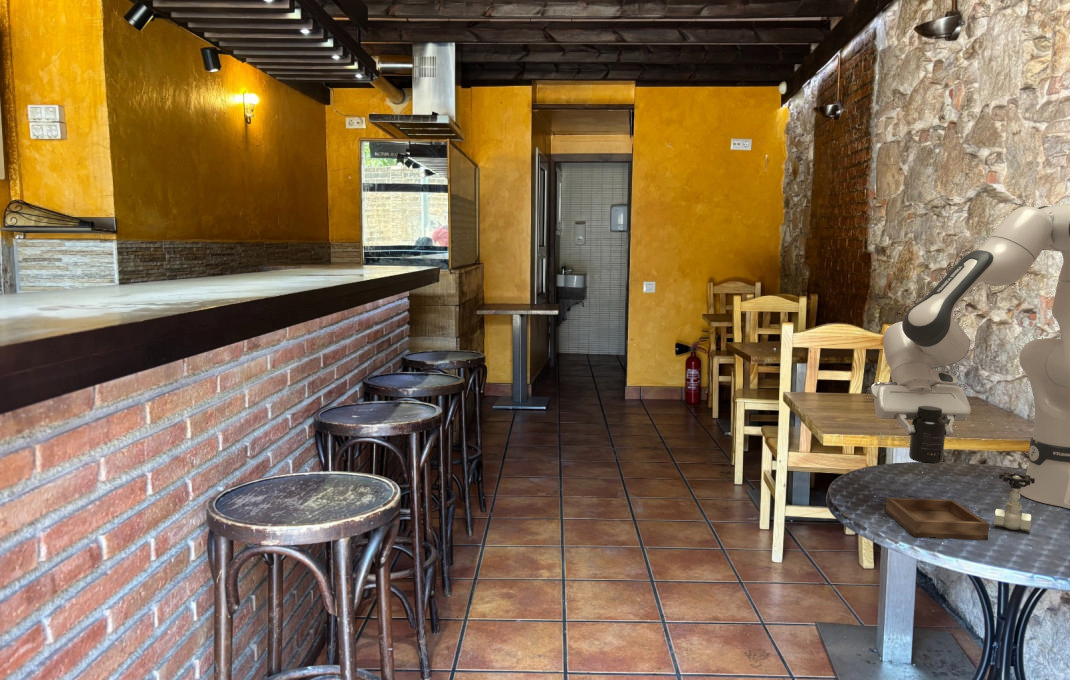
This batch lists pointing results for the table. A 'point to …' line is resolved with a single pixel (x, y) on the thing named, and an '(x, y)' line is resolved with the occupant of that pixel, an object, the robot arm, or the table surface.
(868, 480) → the table surface
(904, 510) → the walnut tray
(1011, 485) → the valve
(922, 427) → the supplement bottle
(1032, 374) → the robot arm
